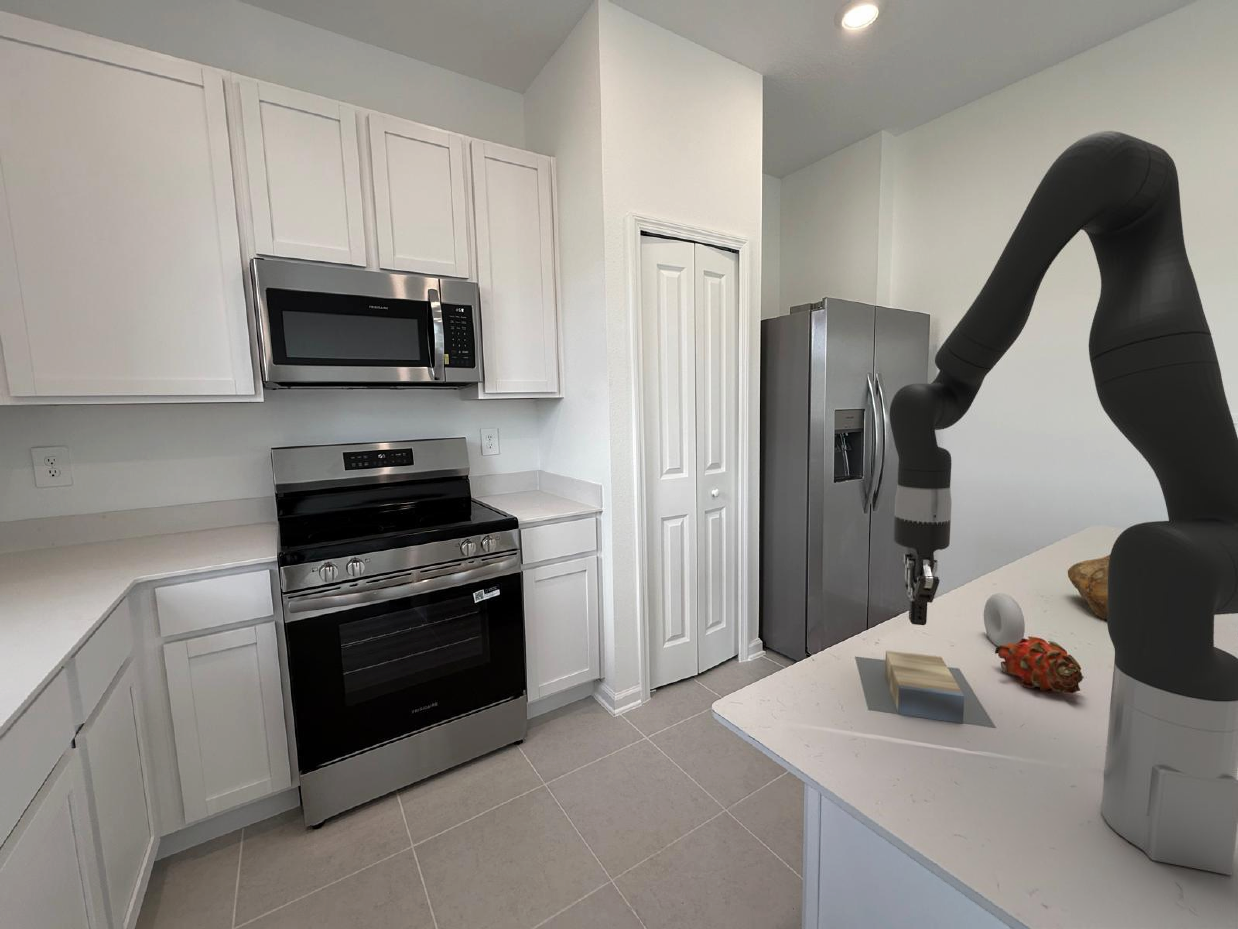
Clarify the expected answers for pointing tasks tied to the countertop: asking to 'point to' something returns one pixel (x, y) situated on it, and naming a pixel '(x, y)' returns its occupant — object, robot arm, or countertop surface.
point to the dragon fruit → (1041, 665)
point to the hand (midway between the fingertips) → (917, 622)
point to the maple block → (923, 687)
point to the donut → (1003, 620)
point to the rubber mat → (883, 700)
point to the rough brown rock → (1092, 583)
